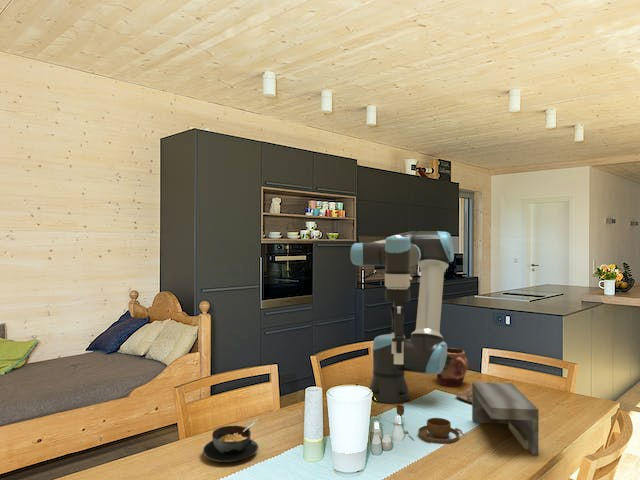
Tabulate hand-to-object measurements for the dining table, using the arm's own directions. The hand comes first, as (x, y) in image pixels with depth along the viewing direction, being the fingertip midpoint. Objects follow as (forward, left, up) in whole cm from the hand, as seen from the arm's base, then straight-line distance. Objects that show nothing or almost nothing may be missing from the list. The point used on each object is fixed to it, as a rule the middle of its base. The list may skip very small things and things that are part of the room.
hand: (397, 358), depth 152 cm
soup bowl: (-46, -17, -23) cm, 54 cm away
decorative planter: (+25, +56, -23) cm, 66 cm away
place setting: (+11, +4, -24) cm, 26 cm away
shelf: (+31, +1, -23) cm, 38 cm away
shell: (+27, +31, -23) cm, 47 cm away
